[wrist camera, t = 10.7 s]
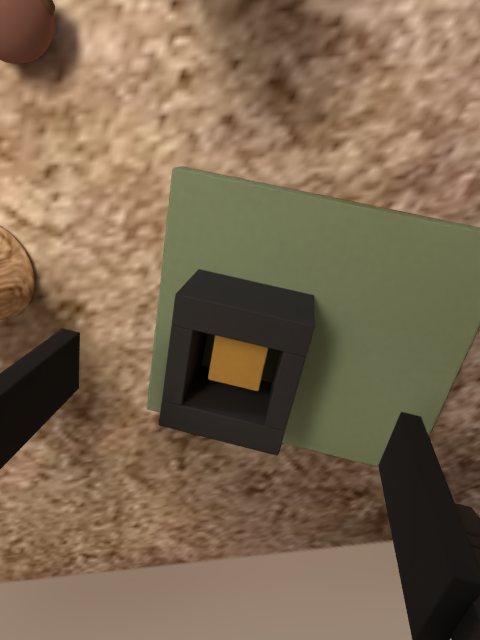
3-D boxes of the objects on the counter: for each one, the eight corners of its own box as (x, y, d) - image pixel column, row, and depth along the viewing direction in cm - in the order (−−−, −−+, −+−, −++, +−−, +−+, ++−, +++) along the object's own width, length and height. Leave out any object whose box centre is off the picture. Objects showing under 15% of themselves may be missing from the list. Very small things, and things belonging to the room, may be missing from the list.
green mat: (181, 166, 21) (153, 169, 17) (505, 232, 20) (550, 252, 16) (154, 396, 26) (129, 435, 23) (405, 458, 25) (421, 510, 21)
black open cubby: (198, 268, 21) (175, 293, 17) (314, 294, 21) (315, 325, 17) (181, 383, 24) (158, 425, 20) (282, 408, 23) (278, 456, 20)
